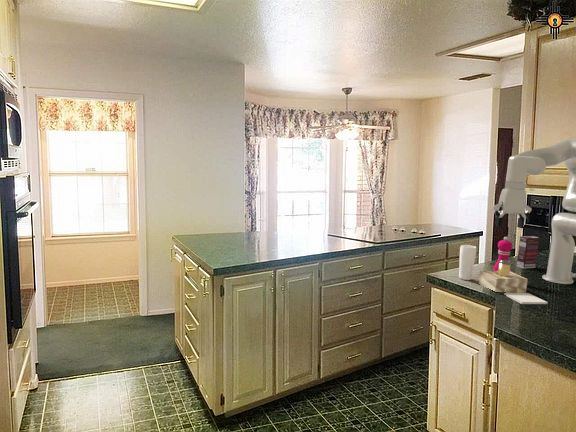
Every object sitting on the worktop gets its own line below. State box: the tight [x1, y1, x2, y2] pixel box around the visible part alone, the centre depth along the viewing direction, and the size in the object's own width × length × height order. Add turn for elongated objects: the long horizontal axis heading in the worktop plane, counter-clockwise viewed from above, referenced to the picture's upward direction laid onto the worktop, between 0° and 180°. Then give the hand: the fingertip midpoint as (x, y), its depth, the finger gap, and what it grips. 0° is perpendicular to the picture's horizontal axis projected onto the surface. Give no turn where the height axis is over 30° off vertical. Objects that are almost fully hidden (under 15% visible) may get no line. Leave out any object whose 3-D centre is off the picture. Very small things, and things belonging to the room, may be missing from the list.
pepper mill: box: [492, 236, 513, 272], centre depth 213 cm, size 7×7×20 cm
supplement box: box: [516, 235, 540, 269], centre depth 241 cm, size 9×5×16 cm, turn 111°
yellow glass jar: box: [498, 259, 512, 277], centre depth 199 cm, size 4×4×12 cm
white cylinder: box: [458, 244, 477, 281], centre depth 211 cm, size 7×7×15 cm
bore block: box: [478, 270, 529, 293], centre depth 200 cm, size 14×12×6 cm
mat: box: [503, 292, 549, 305], centre depth 187 cm, size 11×11×1 cm
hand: (509, 227), depth 196 cm, fingers open, 9 cm apart
